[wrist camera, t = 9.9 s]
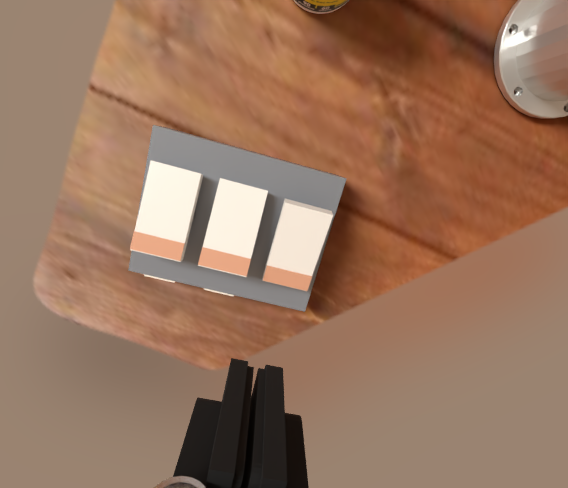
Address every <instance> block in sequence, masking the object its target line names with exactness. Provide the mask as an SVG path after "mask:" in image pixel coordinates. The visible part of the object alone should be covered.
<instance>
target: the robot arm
mask: <svg viewBox="0 0 568 488" xmlns="http://www.w3.org/2000/svg"><path fill="white" fill-rule="evenodd" d="M494 69H495V76H496V79H497V83H498V86H499V88H500V90H501V92H502V94H503V96H504V97H505V98H506V100H507V101H508V102H509V103H510V104H511V105H512V106H513V107H514V108H515V109H517V110H518V111H519V112H521V113H524V114H526V115H528V116H531V117H536V118H541V119H544V118H558V117H565V116H568V0H518V1H517V2H516V3H515V4H514V6H513V7H512V8H511V10H510V11H509V13H508V14H507V16H506V18H505V19H504V21H503V24H502V26H501V28H500V31H499V33H498V37H497V41H496V45H495V52H494ZM253 369H254V368H253V367H249V366H248V361H243V360H238V359H233V358H231V363H230V367H229V372H228V376H227V381H226V385H225V390H224V394H223V400H222V402H220V401H214V400H209V399H203V398H197V400H196V403H195V407H194V410H193V413H192V416H191V420H190V423H189V426H188V429H187V433H186V436H185V439H184V443H183V447H182V449H181V452H180V456H179V459H178V462H177V466H176V469H175V472H174V475H173V477H171V478H169V479H166V480H164V481H162V482H161V483H159V484H158V485H157V486H156V487H154V488H308V478H307V469H306V458H305V448H304V438H303V428H302V420H301V416H299V415H294V414H288V413H285V410H284V386H283V385H284V384H283V368H281V367H275V366H270V365H266V366H265V369H260V368H259V369H258V372H257V376H256V380H255V384H254V388H253V393H252V396H251V391H252V381H253Z"/></svg>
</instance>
